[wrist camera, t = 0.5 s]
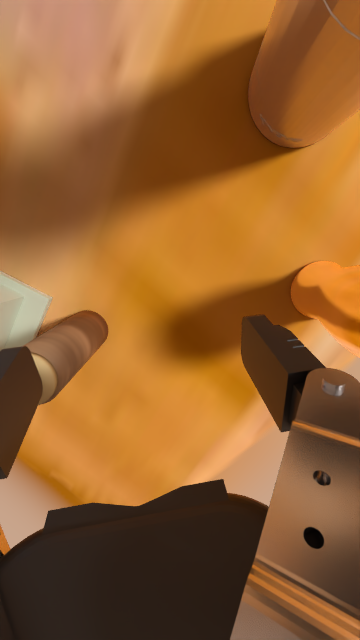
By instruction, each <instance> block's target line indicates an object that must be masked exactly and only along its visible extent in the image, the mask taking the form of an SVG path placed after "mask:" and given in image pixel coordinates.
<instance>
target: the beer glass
mask: <svg viewBox="0 0 360 640" xmlns="http://www.w3.org/2000/svg"><path fill="white" fill-rule="evenodd" d="M291 300H292V303H293V305H294V306H295V308H296V309H297V310H298V311H299V312H300V313H301V314H303V315H305V316H307V317H310V318H314V319H318V320H319V321H320V322H321V324H322V325H323V326H324V327H325V329H326V330H327V331H328V332H329V334H330V335H331V336H332V337H333V338H334V339H335V340H336V341H337V342H338V343H339V344H340V345H342V346H343V347H344V348H345V349H347V350H348V351H349V352H351V353H352V354H354V355H355V356H357V357H359V358H360V265H356V266H350V267H345V268H343V267H341V266H339V265H338V264H336V263H334V262H330V261H317V262H314V263H311V264H309V265H307V266H305V267H304V268H303V269H301V270H300V271H299V272H298V274H297V275H296V276H295V278H294V280H293V282H292V285H291Z"/></svg>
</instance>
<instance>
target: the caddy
mask: <svg viewBox="0 0 360 640" xmlns="http://www.w3.org/2000/svg"><path fill="white" fill-rule="evenodd" d="M51 301H52V297H50V296H49V295H47V294H45V293H43V292H41V291H39V290H37V289H35V288H33V287H31V286H29V285H27V284H25V283H23V282H21V281H19V280H17V279H15V278H13V277H11V276H9V275H7V274H6V273H4V272H2V271H0V351H1V350H2V349H6V348H14V347H21V346H23V345H25V344H26V343H28V342H30V341H31V340H33V339H35V338H36V337H37V334H38V332H39V330H40V327H41V325H42V322H43V320H44V317H45V315H46V313H47V310H48V308H49V305H50V303H51Z"/></svg>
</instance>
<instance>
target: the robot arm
mask: <svg viewBox="0 0 360 640" xmlns="http://www.w3.org/2000/svg"><path fill="white" fill-rule="evenodd" d="M248 102H249V108H250V112H251V116H252V118H253V120H254V123H255V125H256V127H257V128H258V129H259V130H260V132H261V133H262V134H263V135H264V136H265V137H266V138H267V139H269V140H270V141H271V142H273V143H275V144H278V145H280V146H284V147H289V148H298V147H305V146H308V145H312V144H314V143H316V142H318V141H319V140H321V139H323V138H324V137H325V136H327V135H328V134H329V133H330V132H332V131H333V130H334V129H336V128H337V127H338V126H339V125H341V124H342V123H343V122H344V121H346V120H347V119H348V118H350V117H351V116H352V115H354V114H355V113H356V112H357V111H358V110H360V0H277V2H276V5H275V7H274V10H273V13H272V16H271V19H270V22H269V25H268V28H267V30H266V33H265V36H264V39H263V41H262V44H261V47H260V50H259V53H258V56H257V59H256V62H255V64H254V67H253V71H252V74H251V77H250V80H249V89H248ZM241 355H242V361H243V364H244V366H245V368H246V370H247V372H248V374H249V376H250V377H251V379H252V381H253V383H254V385H255V386H256V388H257V390H258V392H259V394H260V395H261V397H262V399H263V401H264V403H265V404H266V406H267V408H268V410H269V412H270V413H271V415H272V417H273V419H274V421H275V422H276V424H277V426H278V428H279V430H280V431H281V432H286V431H290V432H289V436H288V440H287V443H286V447H285V451H284V454H283V458H282V462H281V465H280V469H279V472H278V476H277V480H276V483H275V487H274V490H273V494H272V498H271V501H270V505H269V507H268V506H267V505H265V504H263V503H261V502H259V501H256V500H254V499H252V498H249V497H246V496H242V495H237V494H232V493H227V491H226V488H225V484H224V480H223V479H221V480H215V481H209V482H204V483H198V484H193V485H187V486H182V487H180V488H178V489H175V490H173V491H171V492H169V493H167V494H165V495H162V496H160V497H158V498H156V499H154V500H152V501H149V502H147V503H145V504H143V505H140V506H124V505H112V504H101V503H89V504H83V505H78V506H72V507H67V508H61V509H56V510H50V511H48V514H47V518H46V522H45V526H44V528H43V529H41V530H39V531H37V532H35V533H33V534H32V535H30V536H28V537H27V538H25V539H24V540H23V541H21V542H20V543H18V544H17V545H15V546H14V547H13V548H12V549H10V547H9V545H8V542H7V540H6V538H5V535H4V532H3V530H2V527H1V525H0V640H360V383H359V382H358V380H357V379H355V378H354V377H353V376H351V375H349V374H347V373H345V372H343V371H340V370H337V369H331V368H326V367H325V366H324V365H323V364H322V363H321V362H320V361H319V360H318V359H317V358H316V357H315V356H314V355H313V354H312V353H311V352H310V351H309V350H308V349H307V348H306V347H304V345H303V344H302V343H301V341H300V340H298V338H297V337H296V336H295V335H294V334H293V333H292V332H291V331H290V330H288V329H286V328H284V327H282V326H280V325H273V324H272V323H271V322H270V321H269V320H268V319H267V318H266V316H265V315H263V314H261V315H254V316H246V317H243V319H242V337H241ZM42 392H43V385H42V380H41V377H40V374H39V372H38V369H37V367H36V364H35V362H34V359H33V357H32V354H31V352H30V350H29V348H28V347H26V346H21V347H14V348H6V349H2V350H1V351H0V479H4V478H7V477H8V475H9V472H10V470H11V468H12V465H13V463H14V461H15V458H16V456H17V453H18V451H19V449H20V446H21V444H22V442H23V439H24V437H25V435H26V432H27V430H28V427H29V425H30V423H31V420H32V418H33V416H34V413H35V411H36V408H37V406H38V404H39V401H40V399H41V397H42Z"/></svg>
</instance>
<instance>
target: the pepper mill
mask: <svg viewBox="0 0 360 640" xmlns="http://www.w3.org/2000/svg"><path fill="white" fill-rule="evenodd" d="M107 336H108V326H107V324H106V322H105V320H104V319H103V317H101V316H100V315H99V314H98V313H96V312H93V311H87V310H86V311H80V312H78V313H76V314H75V315H73V316H71V317H70V318H68V319H66V320H65V321H63V322H61V323H60V324H58V325H56V326H55V327H53V328H51V329H50V330H48V331H46V332H45V333H43V334H41V335H40V336H38V337H36V338H35V339H33V340H31V341H30V342H28V343H26V344H25V345H23V346H26V347H28V348H29V350H30V352H31V354H32V357H33V359H34V362H35V364H36V367H37V369H38V372H39V374H40V377H41V380H42V385H43V392H42V397H41V399H40V401H39V404H38V405H40V404H44V403H47V402H49V401H51V400H52V399H53V398H55V397H56V395H57V394H58V393H59V392H60V391H61V390H62V389H63V388H64V387H65V385H66V384H67V383H68V382H69V381H70V380H71V379H72V378H73V376H74V375H75V374H76V373H77V372H78V371H79V370H80V369H81V368H82V366H83V365H84V364H85V363H86V362H87V361H88V360H89V359H90V357H91V356H92V355H93V354H94V353H95V352H96V351H97V350H98V349H99V347H100V346H101V345H102V344H103V343H104V342H105V340H106V339H107Z"/></svg>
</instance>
